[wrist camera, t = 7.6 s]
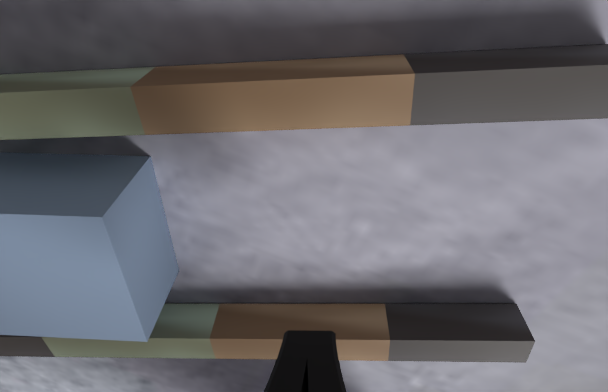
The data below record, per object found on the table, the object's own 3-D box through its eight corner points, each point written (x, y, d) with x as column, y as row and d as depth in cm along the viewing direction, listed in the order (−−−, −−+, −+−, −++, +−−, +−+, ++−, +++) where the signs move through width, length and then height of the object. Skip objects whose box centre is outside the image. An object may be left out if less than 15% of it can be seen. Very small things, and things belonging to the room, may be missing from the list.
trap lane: (508, 324, 19) (526, 362, 17) (-29, 322, 21) (-59, 355, 20) (607, 44, 12) (652, 62, 10) (-223, 85, 14) (-297, 106, 12)
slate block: (180, 267, 18) (147, 341, 15) (56, 262, 19) (-3, 334, 15) (152, 153, 15) (102, 217, 12) (1, 150, 15) (-90, 210, 12)
